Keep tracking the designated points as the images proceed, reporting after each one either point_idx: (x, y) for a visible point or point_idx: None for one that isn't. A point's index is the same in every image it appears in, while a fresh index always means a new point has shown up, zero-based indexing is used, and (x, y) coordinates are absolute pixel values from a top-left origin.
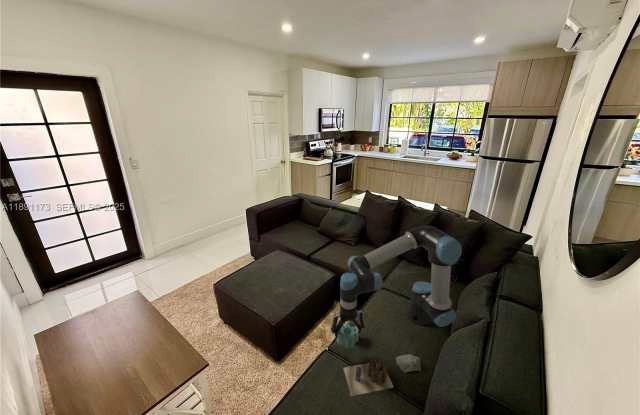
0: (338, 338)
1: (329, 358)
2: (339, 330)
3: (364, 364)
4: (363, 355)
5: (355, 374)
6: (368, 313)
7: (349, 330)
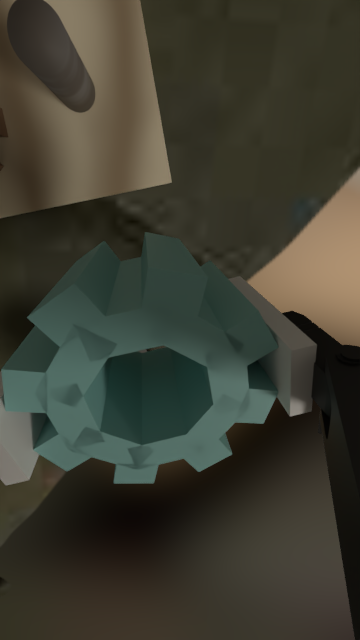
0: (267, 305)
1: (237, 253)
2: (343, 407)
3: (35, 207)
4: (51, 275)
5: (86, 79)
6: (38, 473)
7: (123, 409)
